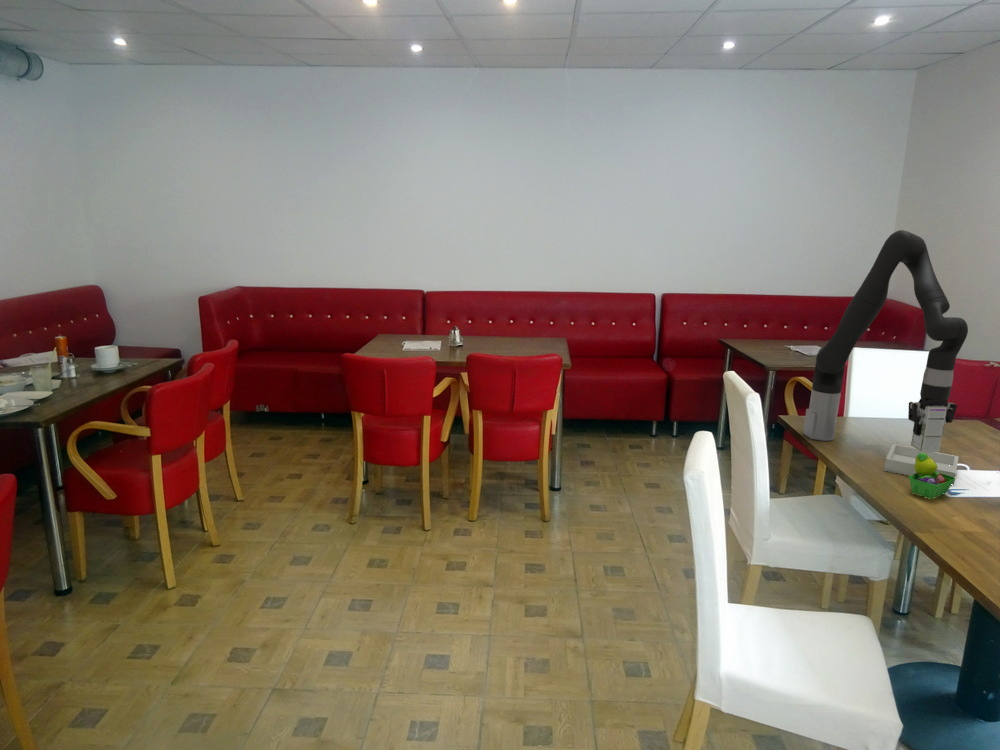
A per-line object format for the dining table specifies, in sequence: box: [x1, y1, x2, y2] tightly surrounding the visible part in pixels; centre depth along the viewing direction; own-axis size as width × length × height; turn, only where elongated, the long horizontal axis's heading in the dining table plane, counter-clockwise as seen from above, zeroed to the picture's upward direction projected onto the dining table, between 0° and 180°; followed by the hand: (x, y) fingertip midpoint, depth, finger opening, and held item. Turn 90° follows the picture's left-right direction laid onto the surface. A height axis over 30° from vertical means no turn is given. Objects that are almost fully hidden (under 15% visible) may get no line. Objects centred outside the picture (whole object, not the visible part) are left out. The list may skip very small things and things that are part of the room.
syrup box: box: [910, 405, 947, 453], centre depth 201 cm, size 6×6×14 cm
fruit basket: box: [908, 453, 956, 500], centre depth 185 cm, size 11×9×11 cm
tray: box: [883, 443, 959, 485], centre depth 203 cm, size 18×18×4 cm
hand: (927, 434), depth 201 cm, fingers closed on syrup box, 6 cm apart
